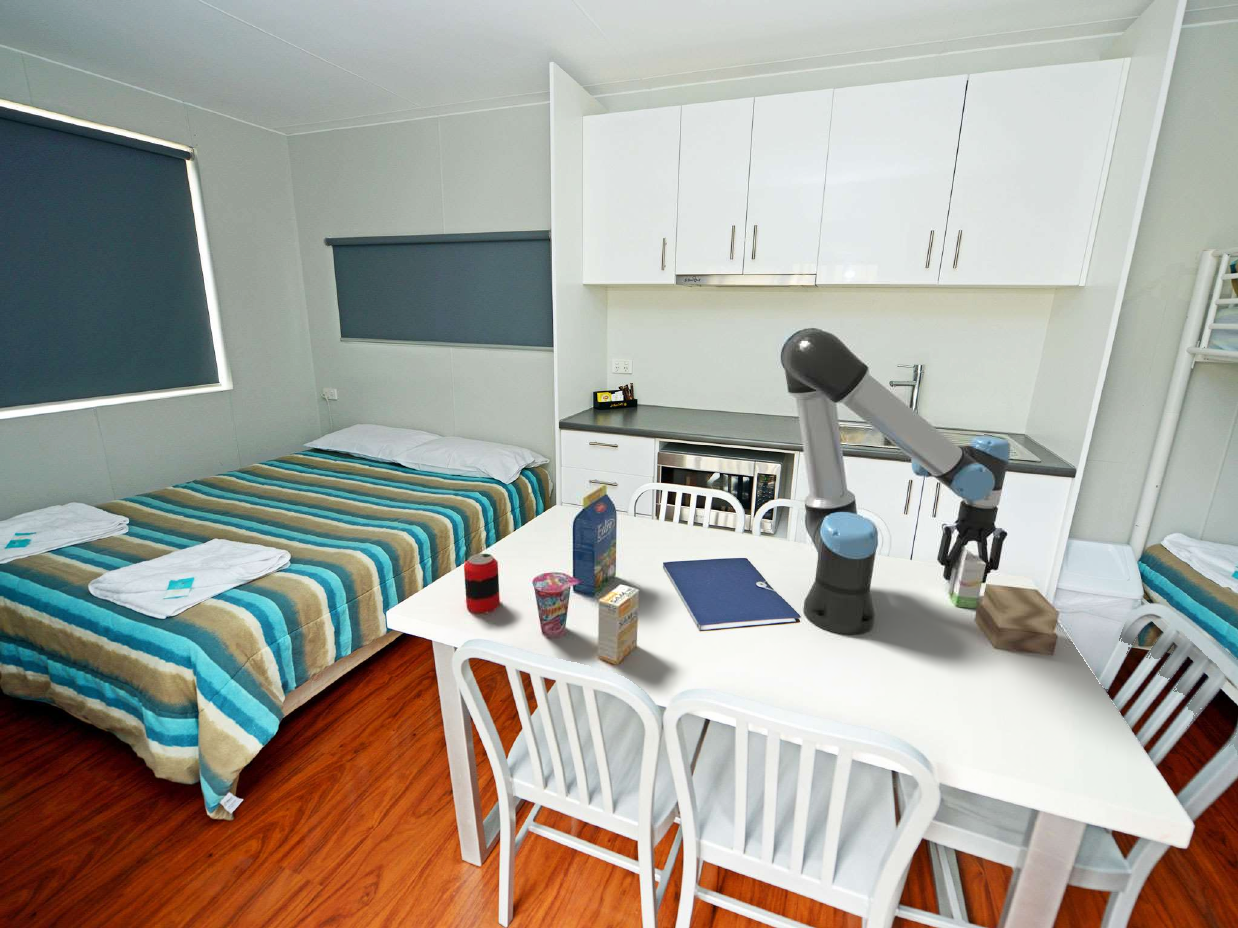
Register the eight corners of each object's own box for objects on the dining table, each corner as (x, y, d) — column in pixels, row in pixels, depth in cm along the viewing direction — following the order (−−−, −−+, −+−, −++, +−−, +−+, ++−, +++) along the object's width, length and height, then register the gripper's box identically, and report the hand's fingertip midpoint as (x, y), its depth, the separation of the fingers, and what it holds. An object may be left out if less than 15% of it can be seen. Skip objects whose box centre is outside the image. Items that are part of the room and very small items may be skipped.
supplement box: (617, 666, 113) (618, 606, 109) (597, 657, 115) (597, 599, 112) (638, 645, 120) (640, 589, 116) (618, 638, 122) (619, 582, 118)
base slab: (993, 649, 121) (998, 628, 119) (974, 622, 131) (978, 602, 130) (1052, 657, 119) (1058, 635, 117) (1027, 628, 129) (1032, 608, 128)
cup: (541, 646, 119) (540, 594, 115) (528, 625, 126) (526, 576, 123) (582, 635, 123) (582, 584, 120) (567, 616, 130) (567, 568, 127)
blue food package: (572, 591, 141) (571, 495, 134) (594, 571, 151) (595, 481, 144) (594, 597, 138) (595, 500, 131) (616, 576, 149) (617, 485, 142)
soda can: (506, 601, 136) (504, 555, 132) (486, 617, 129) (483, 568, 126) (480, 594, 139) (477, 549, 135) (459, 609, 132) (456, 562, 129)
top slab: (999, 627, 120) (1004, 606, 118) (981, 603, 129) (986, 583, 128) (1053, 634, 118) (1059, 612, 116) (1031, 609, 127) (1036, 589, 126)
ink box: (977, 609, 136) (990, 552, 132) (955, 606, 137) (966, 550, 133) (964, 591, 144) (975, 537, 140) (943, 589, 145) (953, 535, 141)
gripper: (942, 505, 132) (925, 596, 138) (1031, 512, 128) (1009, 604, 135) (931, 494, 139) (916, 581, 145) (1015, 500, 135) (995, 589, 142)
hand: (961, 592), depth 140 cm, fingers open, 5 cm apart
